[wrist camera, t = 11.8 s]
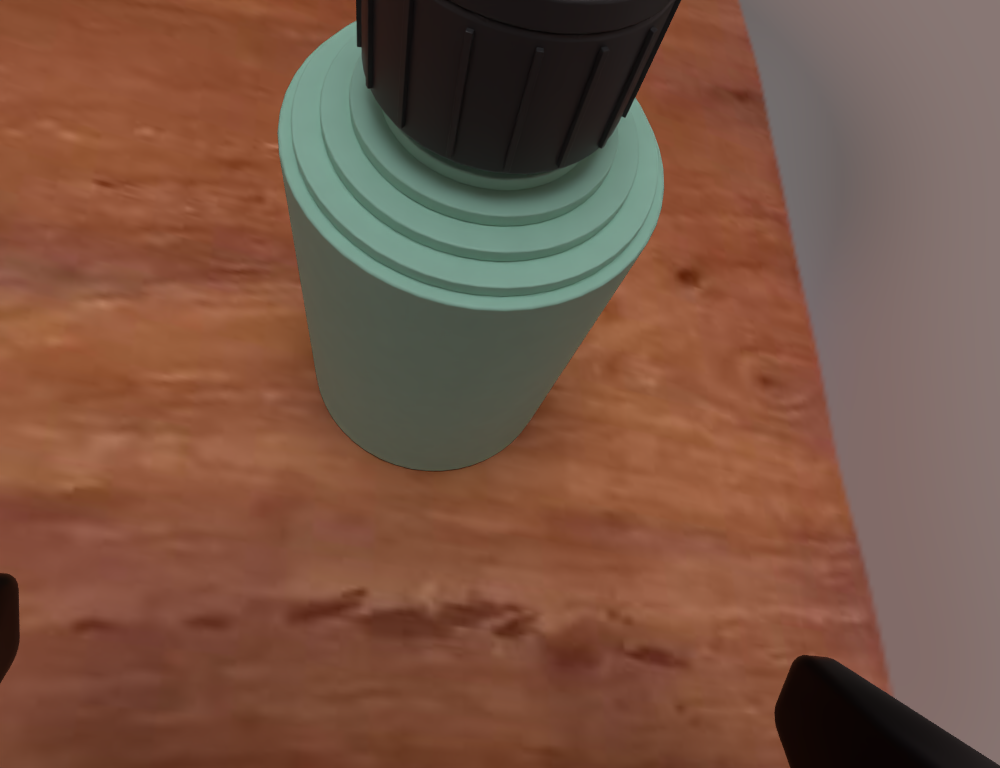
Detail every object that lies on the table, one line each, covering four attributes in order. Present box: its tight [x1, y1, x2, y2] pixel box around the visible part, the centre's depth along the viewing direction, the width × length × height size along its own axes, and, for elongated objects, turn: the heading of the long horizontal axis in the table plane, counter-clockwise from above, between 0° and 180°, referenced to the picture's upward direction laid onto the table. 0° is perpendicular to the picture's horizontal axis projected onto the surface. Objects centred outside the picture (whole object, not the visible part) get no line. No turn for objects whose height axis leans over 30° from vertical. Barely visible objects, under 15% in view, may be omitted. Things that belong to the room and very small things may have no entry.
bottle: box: [278, 21, 664, 471], centre depth 13 cm, size 6×6×12 cm
